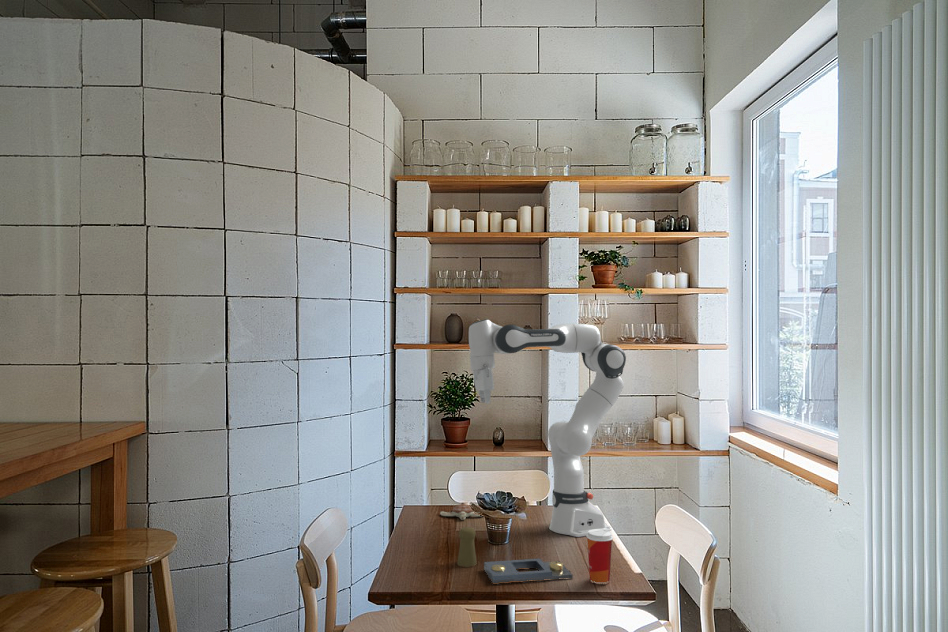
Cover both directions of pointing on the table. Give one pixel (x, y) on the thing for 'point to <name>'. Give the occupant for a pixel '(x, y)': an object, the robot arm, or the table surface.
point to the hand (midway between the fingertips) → (485, 403)
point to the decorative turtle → (460, 511)
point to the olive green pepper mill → (467, 547)
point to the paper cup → (599, 554)
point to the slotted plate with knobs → (508, 572)
